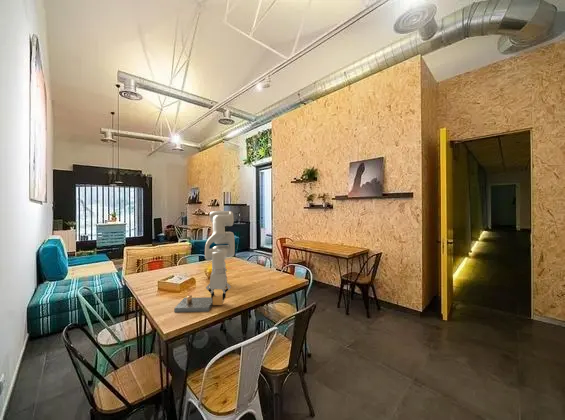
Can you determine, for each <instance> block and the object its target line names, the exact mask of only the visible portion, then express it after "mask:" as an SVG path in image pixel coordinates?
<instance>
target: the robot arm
mask: <svg viewBox="0 0 565 420" xmlns="http://www.w3.org/2000/svg"><path fill="white" fill-rule="evenodd" d="M234 219H235V217H234V212H233V211H231V210H213V211H210V212H209V220H210V222H211V223H212V231H211V235H210V236H209V237H208V238H207V240H206V242H205V245H204V259H205V260H206V261H211V273H210V279H209V284H208V285H206V286H205V289H206V290H207V291H208V292H209V293H210V297H211V298H212V300H213V296H214V294H215V290H222V293H223V300H224V301H225V299H226V296H227V295H226V293H227V292H228V291H229V290H230V289H231V288H232V286H231V285H230V284H229V283H228V278H227V271H228V269H227V268H226V261H225V260H226V259H227V258H232V257H234V256H235V250H236V249H235V248H236V247H235V243H236V242H235V234H234V232H232V231H226V227H233V225H234ZM213 243H214V244H216V245H215V246H213V247H211V248H210V246H211V245H212V244H213ZM226 287H227V288H226Z"/></svg>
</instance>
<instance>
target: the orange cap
mask: <svg viewBox="0 0 565 420" xmlns="http://www.w3.org/2000/svg"><path fill="white" fill-rule="evenodd" d="M224 302H225V299H224V300H223V292H214V296H213V305H212V306H222V305H224Z"/></svg>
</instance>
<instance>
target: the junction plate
mask: <svg viewBox="0 0 565 420" xmlns="http://www.w3.org/2000/svg"><path fill="white" fill-rule="evenodd" d="M213 306H214V305H213V300H212V298H211V296H210V297H207V296H206V297H205V296H204V297H193V296H192V294H189V295H187V296H186V297H184V298H182V299H181V300H180V302H178V304H177V305H176V306H175V307H174V311H173V313H201V312H203V313H206V312H207V313H208V312H210V310H211V309H212V307H213Z"/></svg>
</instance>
